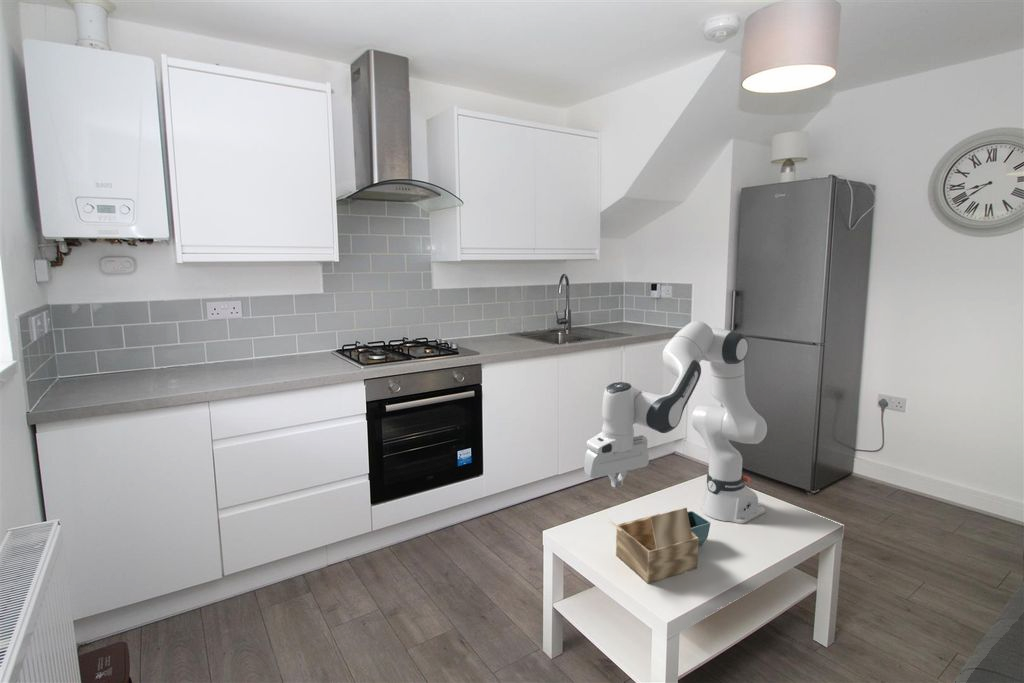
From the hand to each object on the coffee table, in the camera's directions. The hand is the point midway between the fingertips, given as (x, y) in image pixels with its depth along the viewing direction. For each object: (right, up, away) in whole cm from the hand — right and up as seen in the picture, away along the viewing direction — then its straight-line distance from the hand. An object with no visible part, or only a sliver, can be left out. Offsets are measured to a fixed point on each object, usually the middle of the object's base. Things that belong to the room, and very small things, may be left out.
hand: (616, 485), depth 153 cm
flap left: (+16, -13, +2) cm, 21 cm away
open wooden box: (+14, -26, +10) cm, 31 cm away
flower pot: (+27, -25, +19) cm, 42 cm away
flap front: (+2, -14, +3) cm, 15 cm away
